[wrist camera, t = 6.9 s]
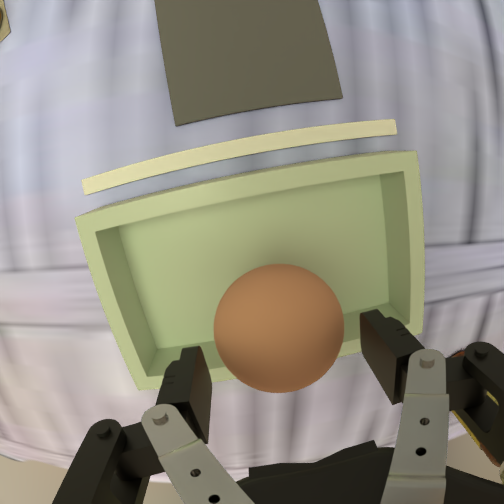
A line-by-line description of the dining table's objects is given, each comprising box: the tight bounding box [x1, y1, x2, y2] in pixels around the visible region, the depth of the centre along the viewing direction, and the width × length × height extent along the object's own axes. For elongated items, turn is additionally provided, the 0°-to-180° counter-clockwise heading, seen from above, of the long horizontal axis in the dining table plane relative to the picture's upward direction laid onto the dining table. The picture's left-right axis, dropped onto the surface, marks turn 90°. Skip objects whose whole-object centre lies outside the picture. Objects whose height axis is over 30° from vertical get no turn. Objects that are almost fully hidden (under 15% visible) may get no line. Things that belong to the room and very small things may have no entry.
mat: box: [155, 0, 343, 126], centre depth 19 cm, size 12×12×1 cm
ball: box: [214, 264, 344, 393], centre depth 15 cm, size 6×6×6 cm
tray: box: [75, 151, 425, 390], centre depth 22 cm, size 22×13×4 cm, turn 101°
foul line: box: [82, 119, 397, 195], centre depth 22 cm, size 24×1×1 cm, turn 101°
